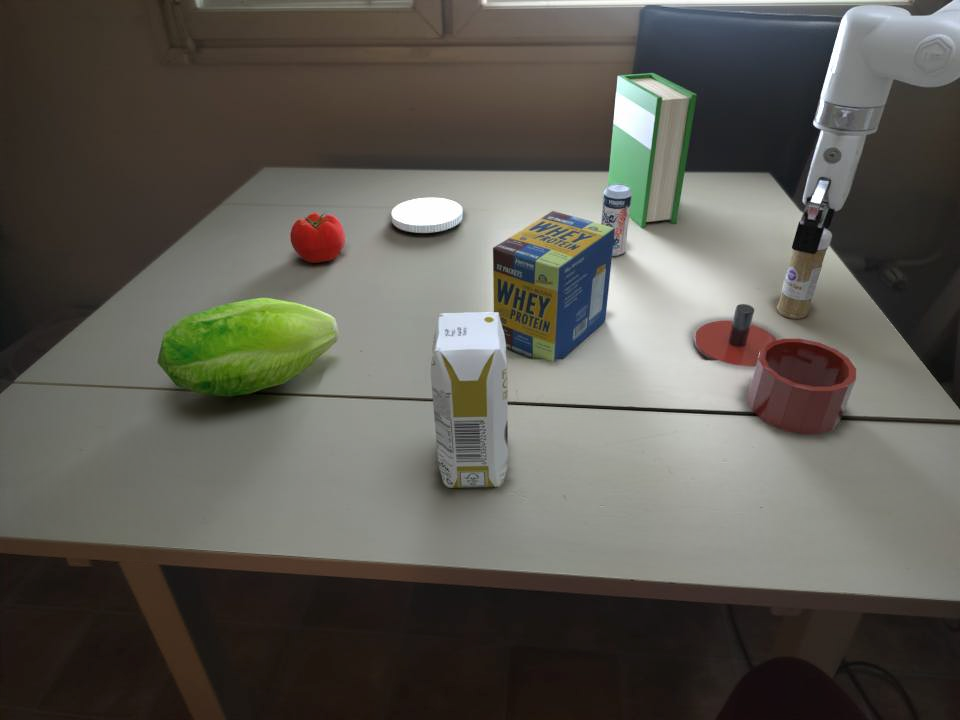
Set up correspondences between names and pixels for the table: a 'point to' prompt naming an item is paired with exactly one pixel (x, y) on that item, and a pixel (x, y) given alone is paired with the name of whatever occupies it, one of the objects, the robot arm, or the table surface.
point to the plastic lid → (426, 215)
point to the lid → (733, 338)
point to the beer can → (617, 214)
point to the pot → (801, 385)
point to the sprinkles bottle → (802, 280)
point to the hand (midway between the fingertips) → (810, 237)
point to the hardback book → (651, 144)
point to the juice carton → (470, 399)
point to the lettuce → (245, 346)
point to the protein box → (552, 284)
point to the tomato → (317, 237)
